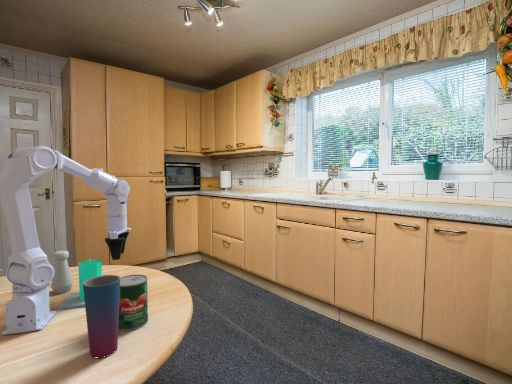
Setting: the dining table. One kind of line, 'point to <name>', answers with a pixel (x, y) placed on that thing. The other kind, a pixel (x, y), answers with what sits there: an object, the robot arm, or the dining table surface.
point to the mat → (73, 302)
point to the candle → (88, 273)
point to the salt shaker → (61, 273)
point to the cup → (102, 313)
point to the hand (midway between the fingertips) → (118, 256)
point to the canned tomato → (133, 302)
